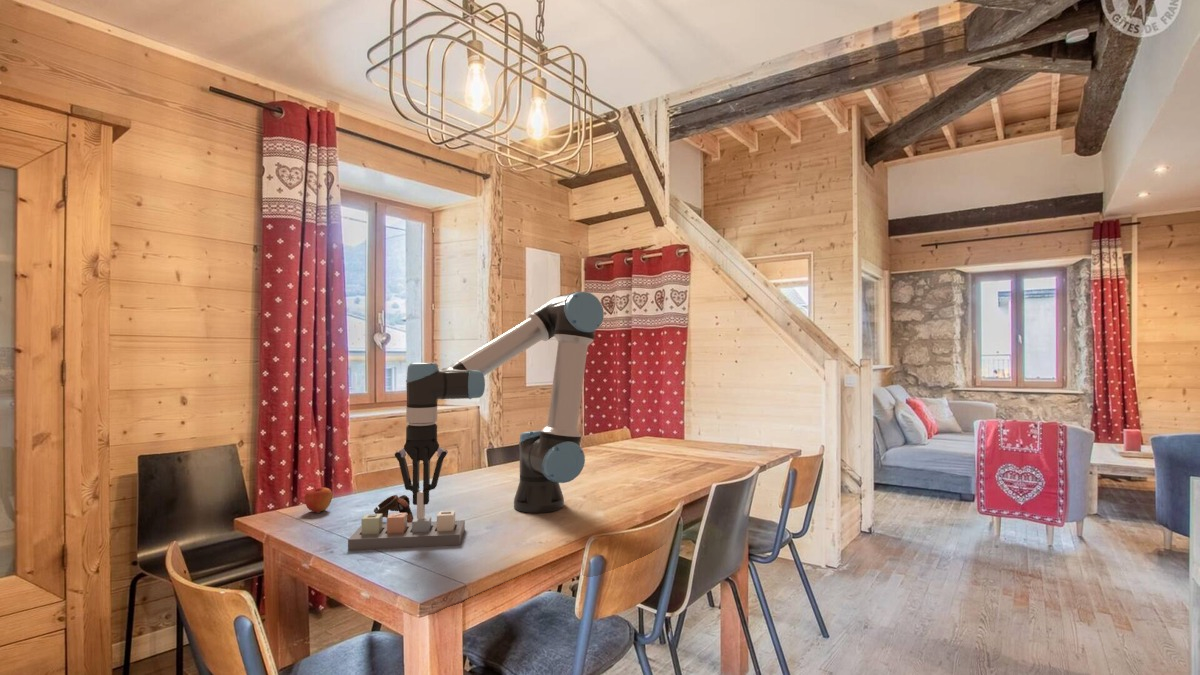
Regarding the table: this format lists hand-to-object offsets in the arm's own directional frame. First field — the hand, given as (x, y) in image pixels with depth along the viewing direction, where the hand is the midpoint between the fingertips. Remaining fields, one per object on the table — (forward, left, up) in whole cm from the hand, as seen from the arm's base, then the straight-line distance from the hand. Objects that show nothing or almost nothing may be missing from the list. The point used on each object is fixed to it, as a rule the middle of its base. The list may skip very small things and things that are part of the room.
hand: (420, 517), depth 145 cm
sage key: (+12, 0, -3) cm, 12 cm away
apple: (+35, -30, -6) cm, 46 cm away
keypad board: (+3, 0, -5) cm, 6 cm away
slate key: (0, 0, -5) cm, 5 cm away
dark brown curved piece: (+10, -17, -6) cm, 21 cm away
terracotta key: (+6, 0, -3) cm, 7 cm away
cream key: (-6, 0, -3) cm, 7 cm away
